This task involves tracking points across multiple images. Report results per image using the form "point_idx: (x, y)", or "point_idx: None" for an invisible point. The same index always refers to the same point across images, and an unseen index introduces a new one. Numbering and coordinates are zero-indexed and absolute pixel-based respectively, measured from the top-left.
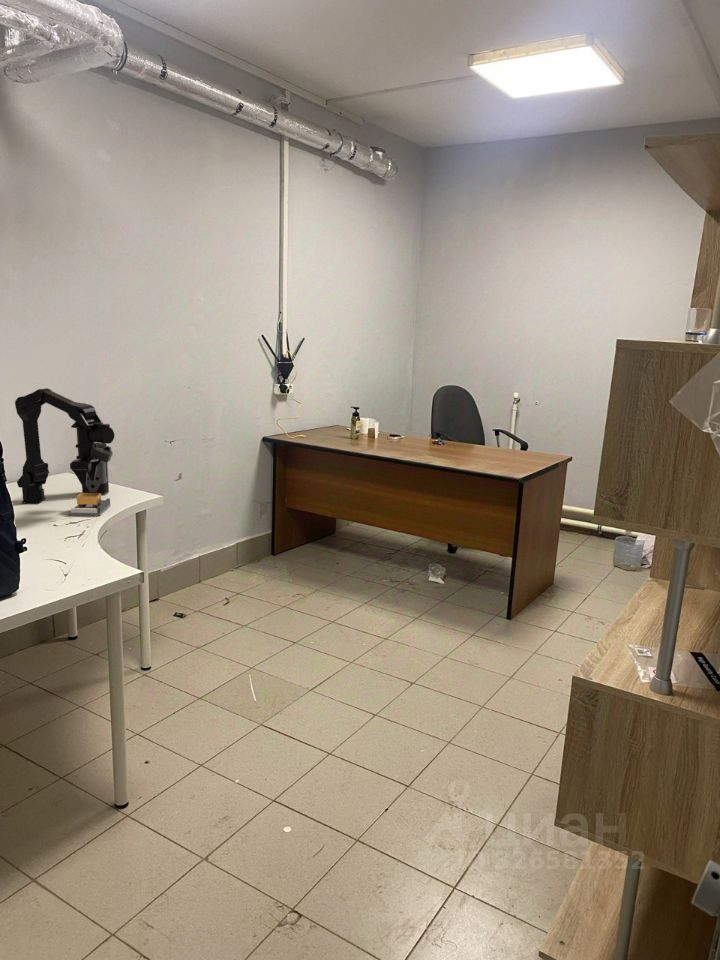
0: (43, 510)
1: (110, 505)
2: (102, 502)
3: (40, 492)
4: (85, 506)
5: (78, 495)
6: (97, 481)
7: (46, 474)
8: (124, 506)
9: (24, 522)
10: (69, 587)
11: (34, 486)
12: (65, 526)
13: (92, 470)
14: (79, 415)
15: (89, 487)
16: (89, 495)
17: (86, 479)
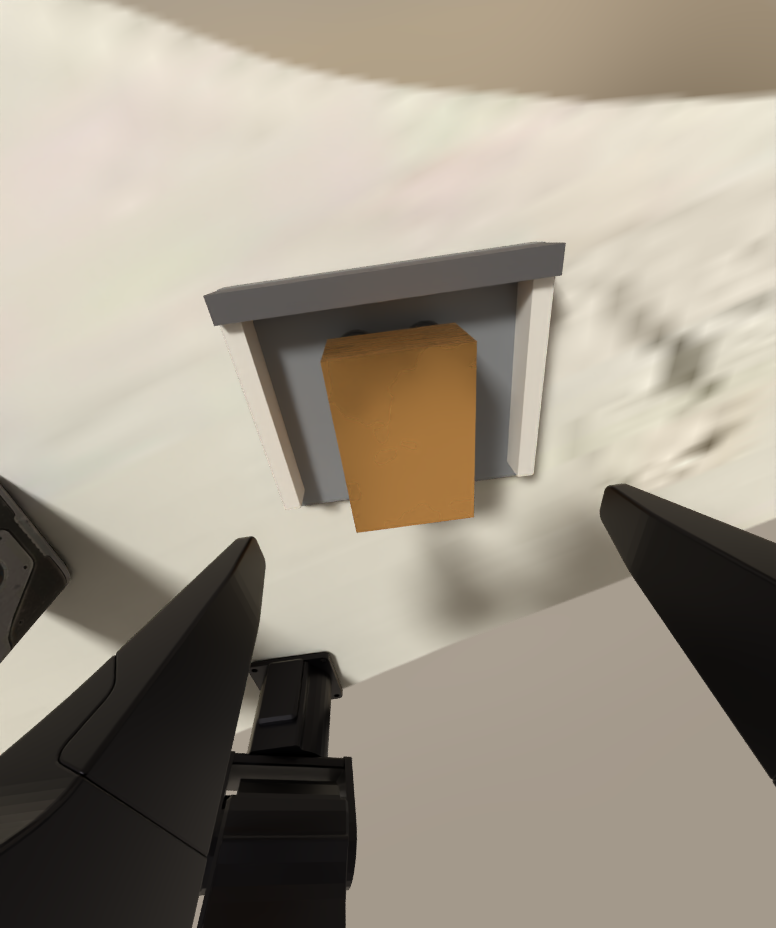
0: (424, 598)
1: (225, 287)
2: (259, 355)
3: (298, 705)
4: None
5: (448, 515)
6: None
7: (239, 828)
8: (177, 121)
9: (619, 578)
10: None
11: (306, 756)
12: (753, 380)
13: (185, 710)
14: None
15: (10, 586)
16: (438, 433)
17: (765, 545)
